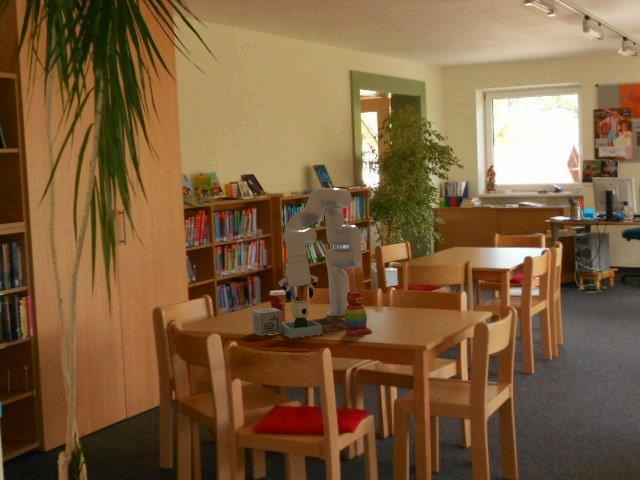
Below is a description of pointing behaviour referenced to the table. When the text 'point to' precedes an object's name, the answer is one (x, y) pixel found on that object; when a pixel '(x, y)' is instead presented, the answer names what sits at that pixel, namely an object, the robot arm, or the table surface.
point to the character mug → (300, 313)
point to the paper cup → (278, 301)
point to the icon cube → (267, 321)
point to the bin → (301, 329)
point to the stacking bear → (356, 315)
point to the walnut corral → (338, 320)
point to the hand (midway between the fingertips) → (299, 298)
